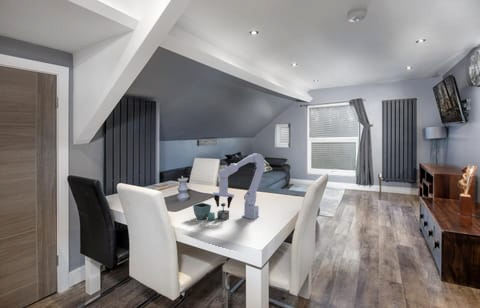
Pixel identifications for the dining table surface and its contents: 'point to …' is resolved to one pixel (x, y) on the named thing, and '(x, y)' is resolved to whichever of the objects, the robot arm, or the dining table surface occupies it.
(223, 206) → the plunger
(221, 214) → the press pot
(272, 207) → the dining table surface
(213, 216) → the teal rounded part
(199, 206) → the flower pot
